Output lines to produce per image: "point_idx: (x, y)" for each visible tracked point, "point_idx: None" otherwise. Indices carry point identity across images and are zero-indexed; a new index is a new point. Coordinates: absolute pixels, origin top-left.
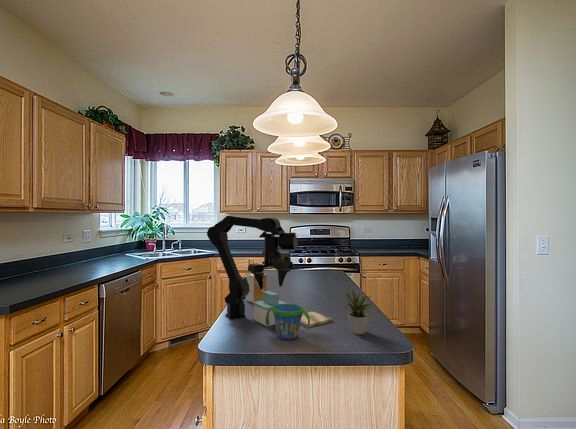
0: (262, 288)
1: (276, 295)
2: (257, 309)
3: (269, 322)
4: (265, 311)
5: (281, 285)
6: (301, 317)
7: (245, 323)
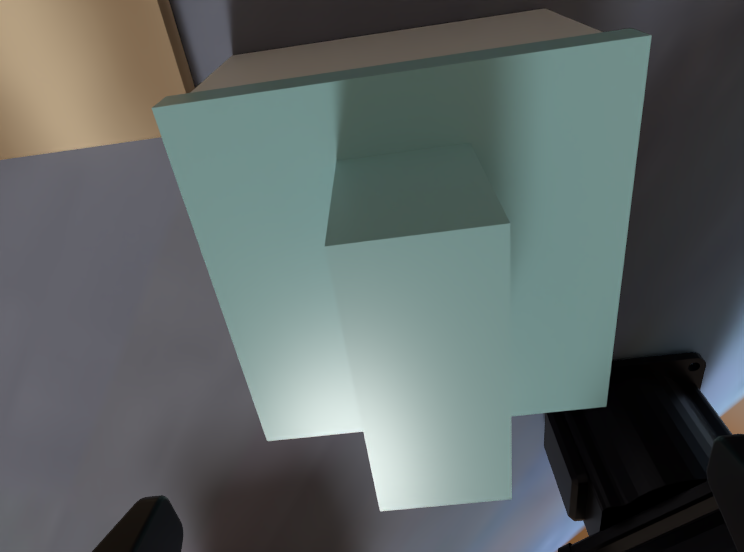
0: (741, 449)
1: (390, 226)
2: None
3: (514, 18)
4: None
5: (137, 515)
6: (31, 28)
7: (671, 207)
